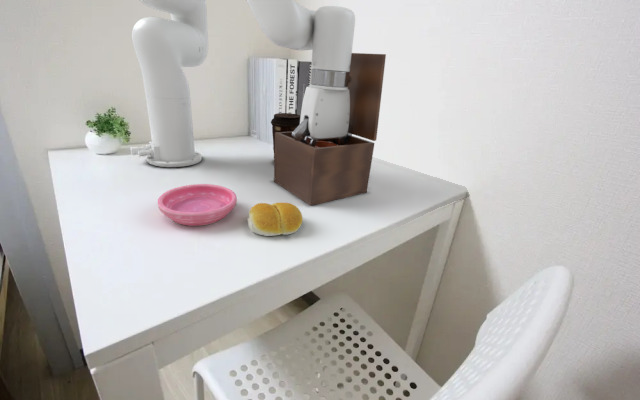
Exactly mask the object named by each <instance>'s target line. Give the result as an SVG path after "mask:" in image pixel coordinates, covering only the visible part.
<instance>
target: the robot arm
mask: <svg viewBox="0 0 640 400" xmlns="http://www.w3.org/2000/svg"><path fill="white" fill-rule="evenodd" d="M139 1H140V2H141V3H142V4H143V5H145V6H146V7H148V8H151V9H152V10H156V11H159V12H163V13H168V14H170V19H168V18H164V17H159V16H146V17H143V18H140V19H138V20H137V21H136V22H135V24H134V25H133V27H132V31H131V41H132V42H131V43H132V47H133V50H134V53H135V56H136V59H137V61H138V65H139V68H140V69H139V70H140V73H141V76H142V82H143V90H144V96H145V103H146V110H147V119H148V124H149V131H150V139H151V140H150V141H148V144H145V145H144V146H130V147H129V149H130V154H131V156H139V157H146V161H147V163H148V164H150V165H152V166H156V167H159V168H160V167H161V168H182V167H183V168H184V167H188V166H189V167H190V166H193V165H196V164H198V163H200V162H201V161H202V157H203V156H202V154H201V153H200V152H198V151H196V150H195V139H194V125H193V124H194V123H193V113H192V99H191V91H190V90H191V89H190V84H189V80H188V79H187V76H186V74H185V72H184V68H194V67H198V66H201V65H202V64H203V63H204V62H205V61H206V60H207V57H208V54H209V53H208V52H209V28H208V12H207V10H208V9H207V0H139ZM245 1H246V3H247V5H248V7H249V9H250V11H251V13H252V14H253V16H254V19H255V20H256V22H257V24H258V25H259V27H260V29H261V31H262V32H263V34H264V35H265V36H266V38H267V39H268V40H269V41H270V42H272V44H274V45H276V46H277V47H282V48H284V49H285V48H286V49H291V50H294V51H312V52H311V67H310V80H309V81H310V82H309V83H310V84H309V86H306V88H305V91H304V94H303V99H302V103H301V110H300V116H301V117H300V125H299V126H298V127H297V128H296V129H295V130H294V131H293V132H292V136H293V137H294V139H295V140H298V141H300V142H303V143H305V144H307V145H310V146H312V147H315V146H316V143H317V141H318V140H320V139H332V142H333V143H336V144H338V145H339V146H340V145H345V144H346V143H347V142H348V141H349V138H350V137H351V136H353V134H352V131H353V127H352V126H351V124H350V123H349V118H350V93H349V89H348V83H349V82H351V76H349V72H350V64H351V54H352V53H353V45H354V36H355V27H356V15H355V12H354V11H353V10H351V8H347V7H343V6H338V5H336V6H335V5H324V6H321V7H319V8H318V9H316V10H313V9H309V8H307V7H305V6H303V5H301V4H300V3H299V2H296V0H245ZM345 71H346V72H345ZM302 135H304V136H306V137H305V139H304V138H303V137H302ZM310 140H311V142H310ZM309 143H310V144H309Z"/></svg>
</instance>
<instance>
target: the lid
mask: <svg viewBox="0 0 640 400" xmlns="http://www.w3.org/2000/svg"><path fill="white" fill-rule="evenodd" d="M386 57H387V54H386V53H365V52H364V53H363V52H361V53H360V52H352V54H351V64H350V72H349V76H351V82H349V83H348V89H349V93H350V118H349V123H350V124H351V126H352V127H353V131H352V136H355V137H359V138H362V139H365V140H368V141H371V142H376V141H377V137H378V128H379V119H380V109H381V101H382V94H383V93H382V92H383V84H384V83H383V82H384V77H385V76H384V75H385V66H386V59H387V58H386ZM345 72H346V71H345Z"/></svg>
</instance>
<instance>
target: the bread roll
mask: <svg viewBox="0 0 640 400" xmlns="http://www.w3.org/2000/svg"><path fill="white" fill-rule="evenodd" d="M303 219H304V218H303V214H302V212H301V210H300V208H299V207H297V206H296V205H295V204H293V203H290V202H274V203H272V204H270V203H267V202H259V203H256V204H254V205H253V206H252V207H251V208H250V210H249V212H248V217H247V219H246V220H247V225H248V228H249V230H250V232H252V233H254V234H256V235H261V236H265V237H275V236H280V235H285V236H286V235H287V236H288V235H291V234H295V233H296V232H298V230H299V229H300V228H301V226H302V224H303V221H304V220H303Z"/></svg>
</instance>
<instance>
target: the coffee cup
mask: <svg viewBox="0 0 640 400" xmlns="http://www.w3.org/2000/svg"><path fill="white" fill-rule="evenodd" d="M300 117H301V114H298V113H290V112H289V113H288V112H277V113H275V114H273V118H272V119H271V121H270V124H271V126H272V127H271V131H272V134H271V135H272V144H273V145H272V150H273V159H274V158H275V132H291V131H294V130H295V129H296V128H297V127H298V126H299V125H300Z"/></svg>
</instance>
